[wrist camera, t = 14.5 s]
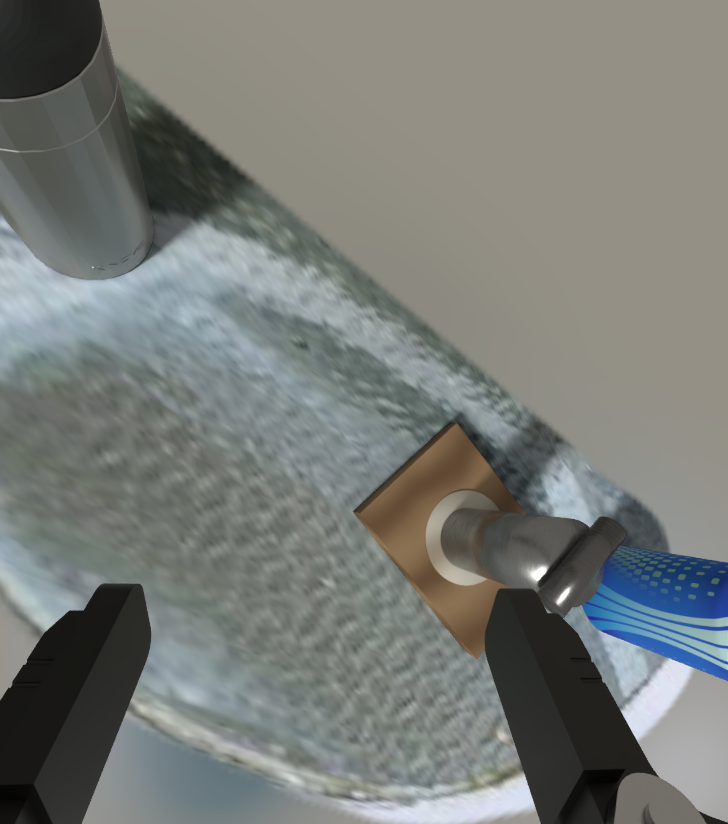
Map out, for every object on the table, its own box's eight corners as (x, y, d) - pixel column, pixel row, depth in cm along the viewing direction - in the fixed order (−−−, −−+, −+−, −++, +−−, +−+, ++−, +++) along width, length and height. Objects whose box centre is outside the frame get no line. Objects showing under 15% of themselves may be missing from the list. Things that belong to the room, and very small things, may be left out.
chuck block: (352, 511, 38) (360, 513, 36) (446, 425, 42) (457, 422, 40) (464, 650, 39) (478, 659, 37) (544, 554, 43) (561, 557, 41)
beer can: (579, 640, 43) (773, 727, 28) (560, 553, 44) (740, 591, 29) (642, 616, 46) (850, 682, 31) (623, 534, 46) (817, 559, 31)
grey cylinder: (424, 540, 37) (534, 573, 24) (473, 490, 39) (599, 495, 26) (460, 588, 37) (588, 644, 24) (507, 535, 40) (648, 562, 27)
